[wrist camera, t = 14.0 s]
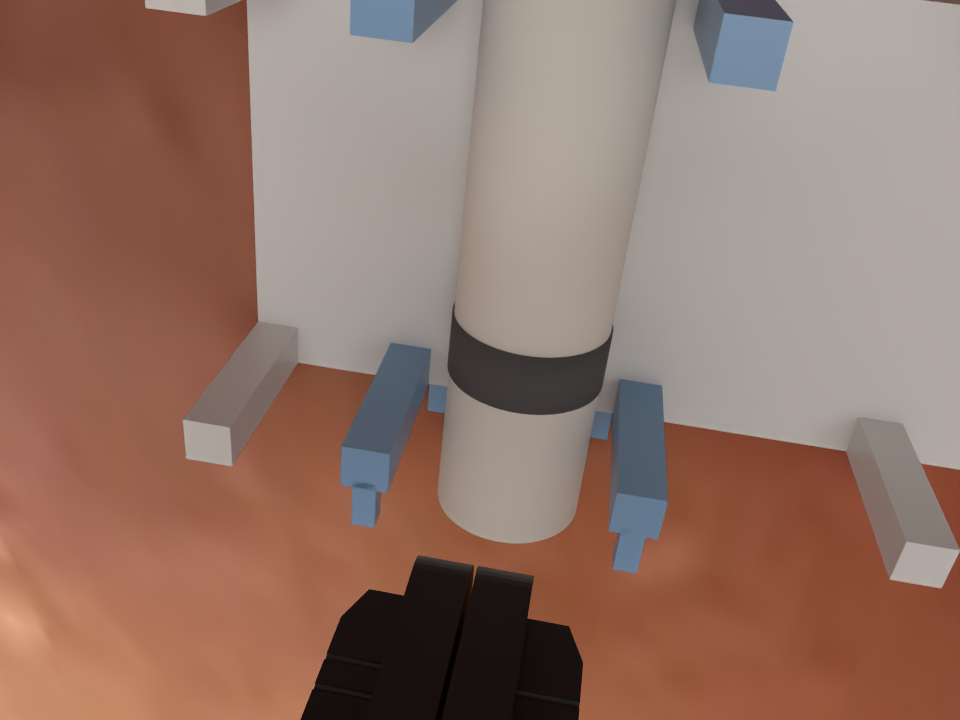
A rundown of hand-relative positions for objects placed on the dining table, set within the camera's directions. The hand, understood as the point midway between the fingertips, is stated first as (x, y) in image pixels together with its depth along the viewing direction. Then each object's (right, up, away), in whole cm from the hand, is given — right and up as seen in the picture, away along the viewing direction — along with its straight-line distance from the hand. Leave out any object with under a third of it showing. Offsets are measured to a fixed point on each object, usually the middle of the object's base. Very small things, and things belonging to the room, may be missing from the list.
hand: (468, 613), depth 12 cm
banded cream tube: (+2, +7, +12) cm, 14 cm away
